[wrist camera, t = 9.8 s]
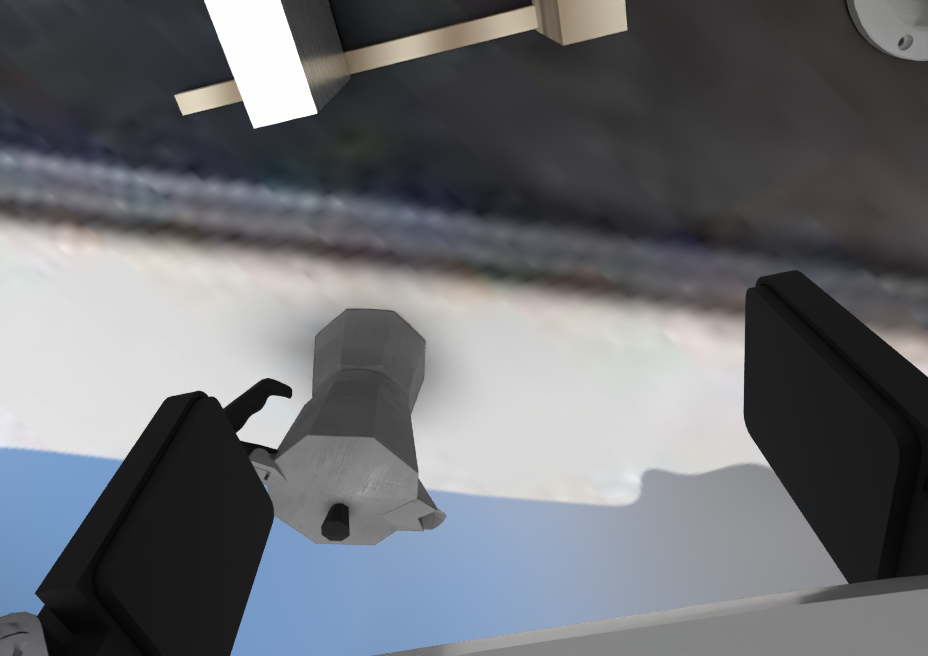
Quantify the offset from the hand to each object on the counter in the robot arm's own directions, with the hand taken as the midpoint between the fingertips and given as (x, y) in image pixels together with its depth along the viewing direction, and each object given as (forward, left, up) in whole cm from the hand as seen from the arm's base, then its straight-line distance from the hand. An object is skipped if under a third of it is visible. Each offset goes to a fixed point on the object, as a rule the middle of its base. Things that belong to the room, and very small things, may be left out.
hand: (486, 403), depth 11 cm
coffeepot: (+12, +17, -32) cm, 39 cm away
